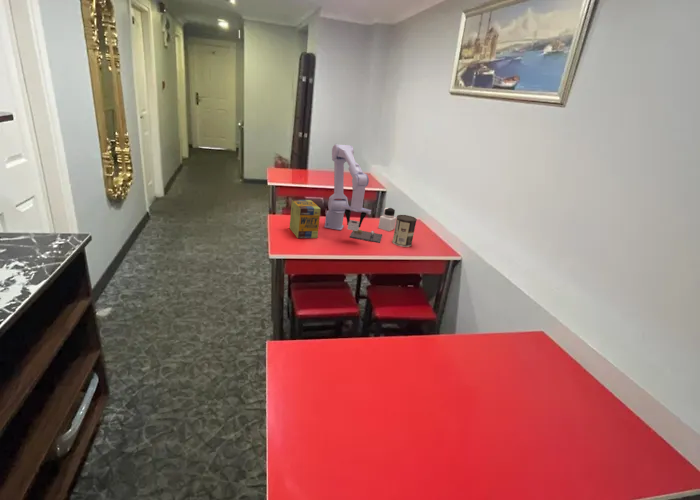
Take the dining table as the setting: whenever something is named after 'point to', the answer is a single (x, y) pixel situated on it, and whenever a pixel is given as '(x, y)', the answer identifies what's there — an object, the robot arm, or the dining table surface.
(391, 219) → the medicine bottle
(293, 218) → the protein box
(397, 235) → the coffee can
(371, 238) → the shaft block
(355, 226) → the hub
